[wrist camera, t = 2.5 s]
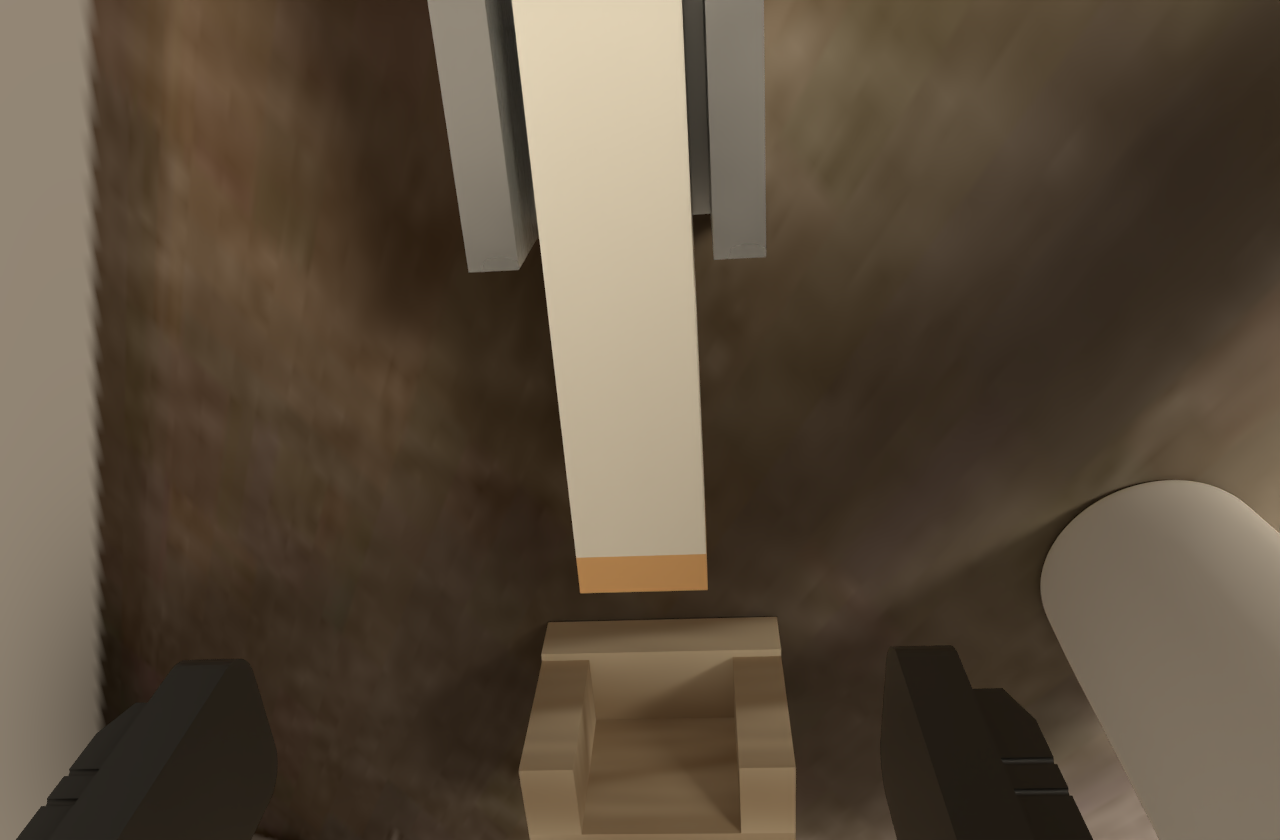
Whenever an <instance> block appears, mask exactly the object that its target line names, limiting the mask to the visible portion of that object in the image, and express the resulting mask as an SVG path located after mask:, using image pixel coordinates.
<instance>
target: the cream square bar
mask: <svg viewBox="0 0 1280 840" xmlns="http://www.w3.org/2000/svg"><path fill="white" fill-rule="evenodd" d="M512 7H513V16H514V25H515V33H516V42H517V51H518V59H519V68H520V77H521V85H522V94H523V103H524V111H525V120H526V128H527V137H528V146H529V154H530V163H531V172H532V180H533V189H534V198H535V206H536V215H537V224H538V232H539V241H540V249H541V258H542V267H543V275H544V284H545V293H546V301H547V310H548V319H549V327H550V336H551V344H552V353H553V362H554V370H555V379H556V388H557V396H558V405H559V414H560V422H561V431H562V440H563V448H564V457H565V465H566V474H567V483H568V491H569V500H570V509H571V517H572V526H573V535H574V543H575V552H576V561H577V569H578V578H579V586H580V593H611V592H649V591H687V590H708V579H707V543H706V512H705V489H704V466H703V443H702V420H701V397H700V374H699V351H698V328H697V305H696V282H695V259H694V236H693V214H692V190H691V168H690V145H689V122H688V99H687V76H686V53H685V30H684V7H683V0H512Z"/></svg>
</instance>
